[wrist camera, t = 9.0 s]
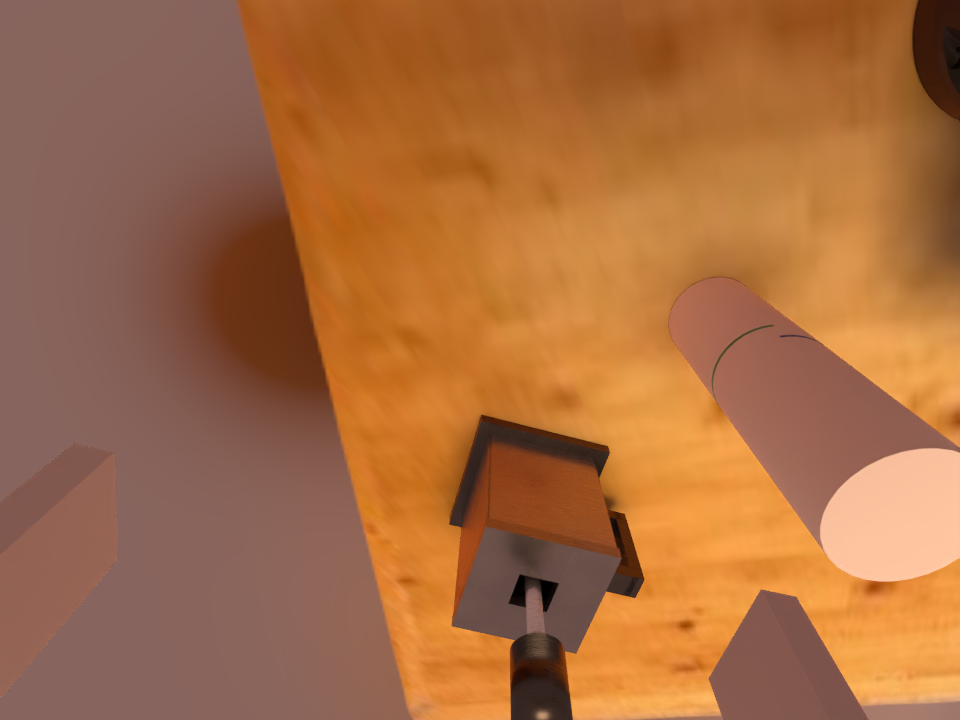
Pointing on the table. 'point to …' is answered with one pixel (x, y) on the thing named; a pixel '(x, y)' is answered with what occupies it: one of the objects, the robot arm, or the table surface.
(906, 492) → the cylindrical container
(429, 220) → the table surface
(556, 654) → the plunger
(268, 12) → the table surface
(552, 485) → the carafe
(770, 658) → the robot arm
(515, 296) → the table surface
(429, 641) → the table surface
